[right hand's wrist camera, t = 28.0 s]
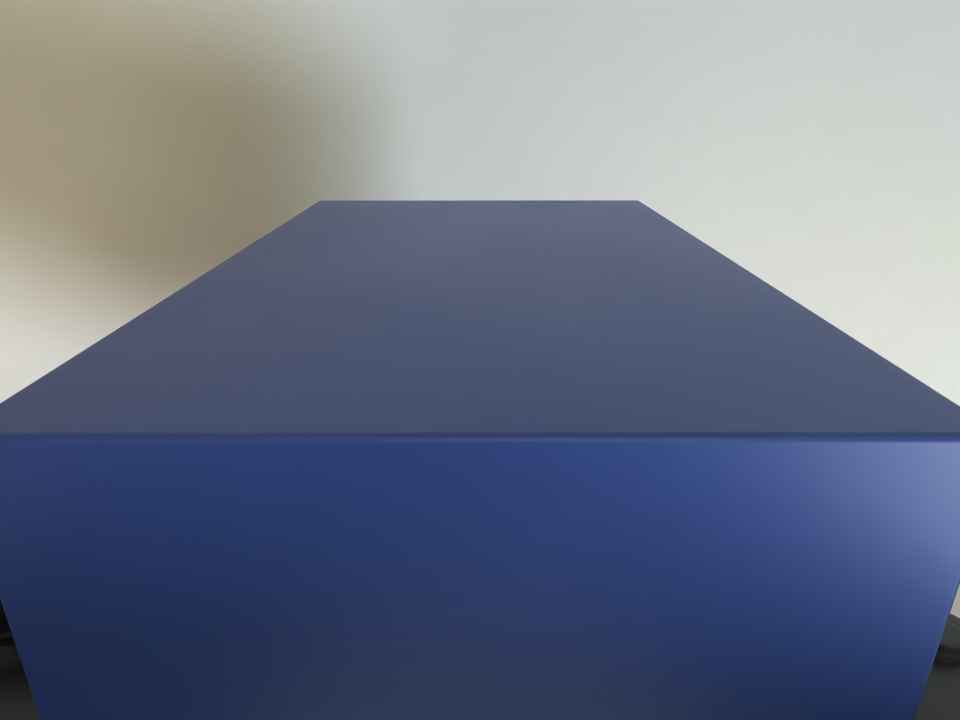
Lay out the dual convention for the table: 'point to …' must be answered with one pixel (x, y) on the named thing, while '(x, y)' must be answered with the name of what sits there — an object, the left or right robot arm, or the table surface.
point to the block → (478, 487)
